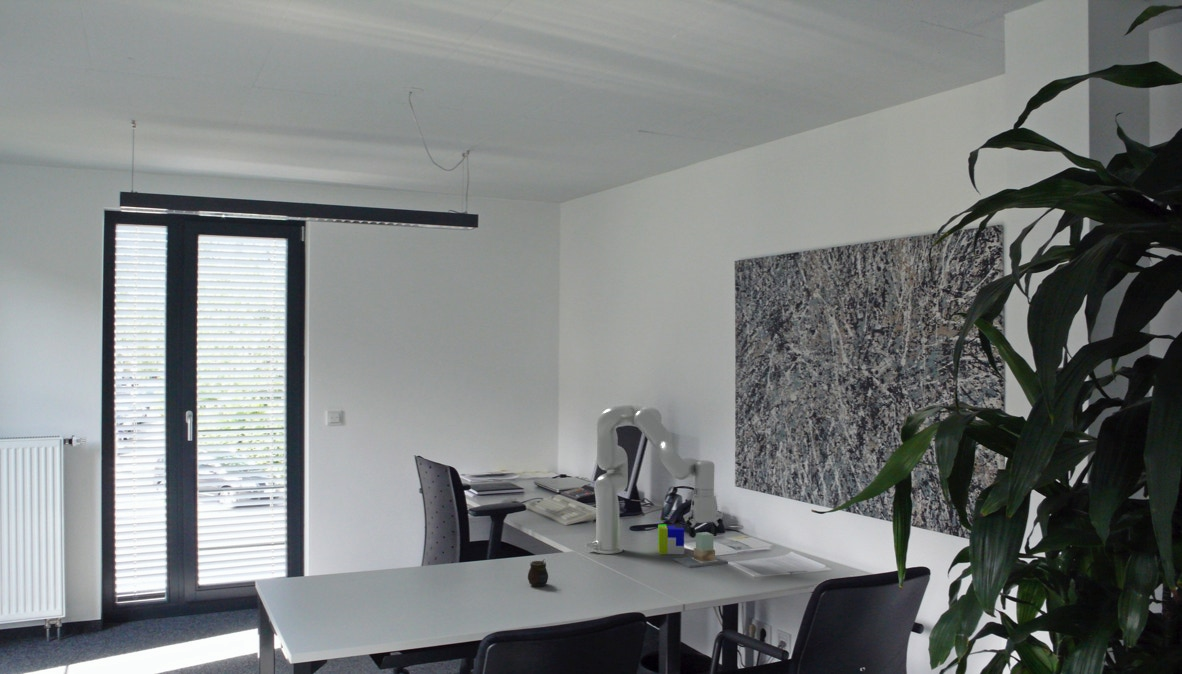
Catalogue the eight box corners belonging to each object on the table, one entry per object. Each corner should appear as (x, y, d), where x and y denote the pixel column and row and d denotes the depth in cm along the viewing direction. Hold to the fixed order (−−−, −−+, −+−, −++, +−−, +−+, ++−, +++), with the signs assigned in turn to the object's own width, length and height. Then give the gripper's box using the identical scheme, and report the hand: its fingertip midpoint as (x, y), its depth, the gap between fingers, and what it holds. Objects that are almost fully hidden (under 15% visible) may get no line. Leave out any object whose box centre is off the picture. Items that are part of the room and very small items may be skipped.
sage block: (702, 551, 339) (702, 535, 339) (695, 548, 344) (695, 533, 344) (713, 550, 341) (713, 534, 341) (707, 547, 345) (707, 532, 346)
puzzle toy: (684, 554, 355) (684, 529, 355) (659, 554, 355) (659, 529, 355) (682, 548, 365) (682, 524, 365) (658, 548, 365) (658, 524, 365)
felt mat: (689, 567, 333) (689, 565, 333) (674, 560, 344) (674, 558, 344) (728, 563, 339) (728, 561, 339) (712, 556, 350) (712, 554, 350)
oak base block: (701, 561, 338) (701, 551, 338) (694, 558, 344) (694, 548, 344) (715, 560, 340) (715, 550, 341) (707, 557, 346) (707, 546, 346)
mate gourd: (539, 581, 314) (539, 553, 314) (553, 585, 308) (553, 557, 308) (523, 584, 308) (524, 556, 309) (537, 589, 303) (538, 560, 303)
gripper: (689, 495, 336) (687, 539, 336) (728, 493, 342) (727, 537, 342) (679, 491, 343) (678, 535, 343) (718, 490, 349) (717, 532, 349)
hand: (702, 536), depth 343 cm, fingers open, 9 cm apart
